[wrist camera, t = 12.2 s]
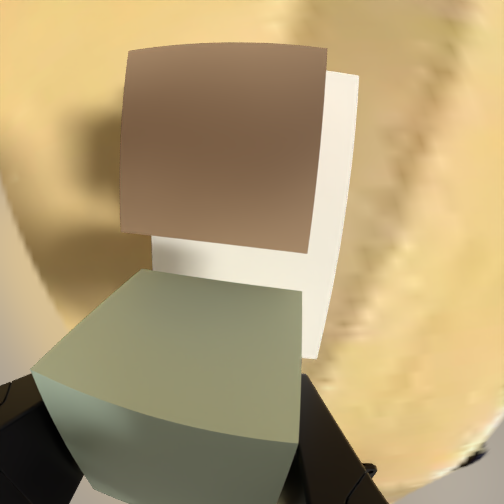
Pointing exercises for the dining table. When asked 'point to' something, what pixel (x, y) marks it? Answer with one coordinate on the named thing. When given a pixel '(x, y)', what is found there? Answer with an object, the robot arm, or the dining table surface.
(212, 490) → the sage cube
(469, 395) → the dining table surface
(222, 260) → the base slab
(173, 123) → the walnut cube
